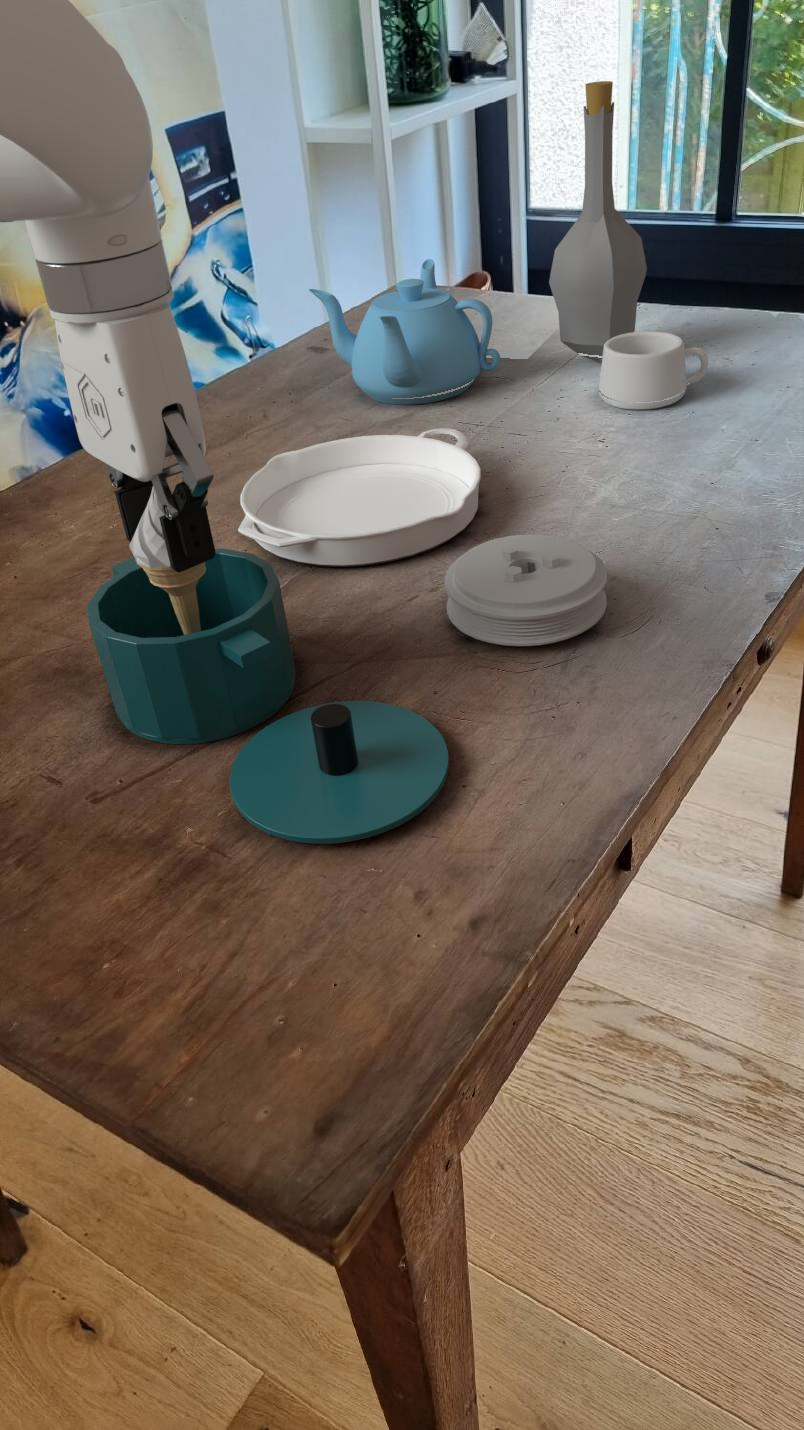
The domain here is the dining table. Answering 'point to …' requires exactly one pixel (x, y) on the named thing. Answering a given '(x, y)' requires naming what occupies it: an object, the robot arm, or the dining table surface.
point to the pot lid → (339, 772)
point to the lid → (526, 590)
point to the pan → (362, 499)
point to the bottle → (597, 247)
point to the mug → (646, 369)
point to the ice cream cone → (166, 567)
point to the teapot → (413, 342)
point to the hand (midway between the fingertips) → (170, 547)
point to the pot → (195, 651)
